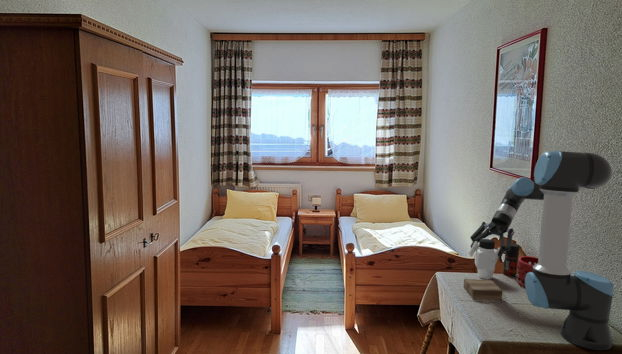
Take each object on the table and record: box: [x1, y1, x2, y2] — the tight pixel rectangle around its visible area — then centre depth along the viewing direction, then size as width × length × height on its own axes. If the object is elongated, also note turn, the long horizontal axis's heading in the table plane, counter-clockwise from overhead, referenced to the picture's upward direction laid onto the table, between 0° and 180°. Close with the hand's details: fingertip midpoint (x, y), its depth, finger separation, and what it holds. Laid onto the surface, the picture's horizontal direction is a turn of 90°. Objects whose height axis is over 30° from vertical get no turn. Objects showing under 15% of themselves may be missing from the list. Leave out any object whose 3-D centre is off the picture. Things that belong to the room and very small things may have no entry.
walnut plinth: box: [463, 278, 503, 301], centre depth 191 cm, size 12×12×4 cm
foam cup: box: [477, 248, 497, 280], centre depth 211 cm, size 10×9×13 cm
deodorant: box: [502, 242, 520, 278], centre depth 215 cm, size 6×6×15 cm
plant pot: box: [516, 255, 539, 288], centre depth 202 cm, size 13×13×12 cm
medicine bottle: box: [474, 237, 497, 271], centre depth 189 cm, size 7×7×12 cm
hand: (481, 258), depth 187 cm, fingers closed on medicine bottle, 10 cm apart
